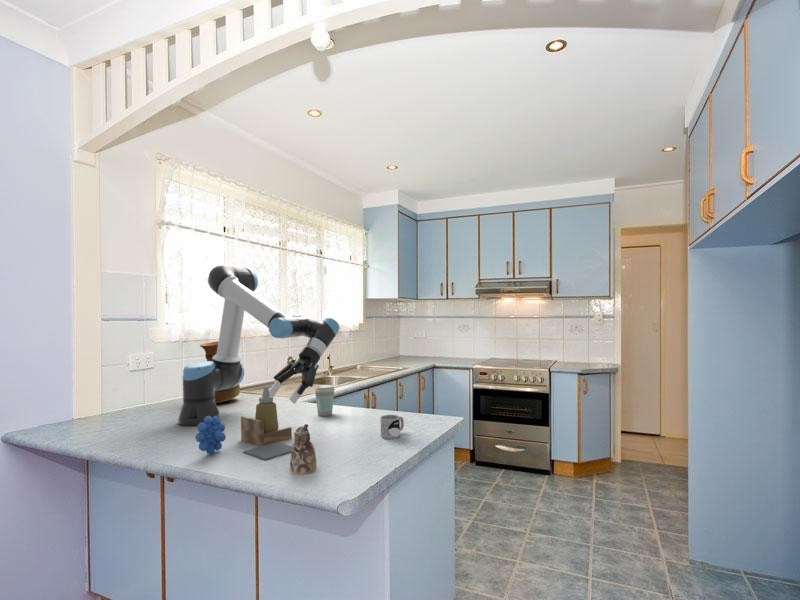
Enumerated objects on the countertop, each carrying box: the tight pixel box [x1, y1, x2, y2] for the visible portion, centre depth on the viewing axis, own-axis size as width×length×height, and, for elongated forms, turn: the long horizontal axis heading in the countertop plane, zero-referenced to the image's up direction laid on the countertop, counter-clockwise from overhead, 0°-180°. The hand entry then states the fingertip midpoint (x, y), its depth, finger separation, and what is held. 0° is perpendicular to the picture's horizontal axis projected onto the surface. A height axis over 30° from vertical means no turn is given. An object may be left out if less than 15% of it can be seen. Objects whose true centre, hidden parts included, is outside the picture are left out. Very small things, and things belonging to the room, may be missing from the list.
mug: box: [380, 414, 405, 440], centre depth 152 cm, size 10×7×7 cm, turn 137°
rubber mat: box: [242, 441, 293, 461], centre depth 137 cm, size 12×12×1 cm
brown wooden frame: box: [240, 415, 293, 447], centre depth 151 cm, size 12×12×8 cm
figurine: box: [289, 423, 317, 475], centre depth 121 cm, size 7×7×12 cm
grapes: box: [194, 416, 227, 455], centre depth 135 cm, size 12×7×12 cm, turn 160°
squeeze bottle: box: [254, 385, 279, 434], centre depth 151 cm, size 8×8×18 cm
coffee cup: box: [314, 384, 336, 417], centre depth 184 cm, size 8×8×12 cm
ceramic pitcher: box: [199, 340, 241, 404], centre depth 215 cm, size 20×20×30 cm
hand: (280, 399), depth 154 cm, fingers open, 13 cm apart
